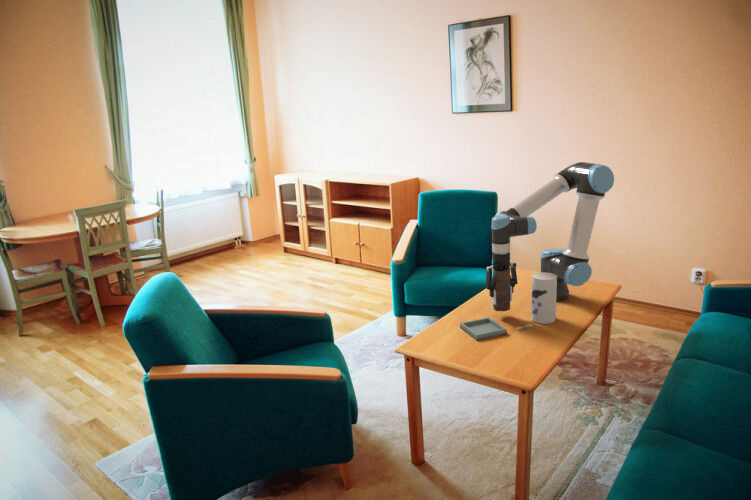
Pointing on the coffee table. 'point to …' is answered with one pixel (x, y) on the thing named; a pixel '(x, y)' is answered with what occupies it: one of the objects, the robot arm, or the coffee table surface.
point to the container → (544, 297)
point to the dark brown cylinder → (502, 290)
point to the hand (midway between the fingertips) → (501, 301)
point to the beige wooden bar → (524, 327)
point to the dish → (483, 328)
